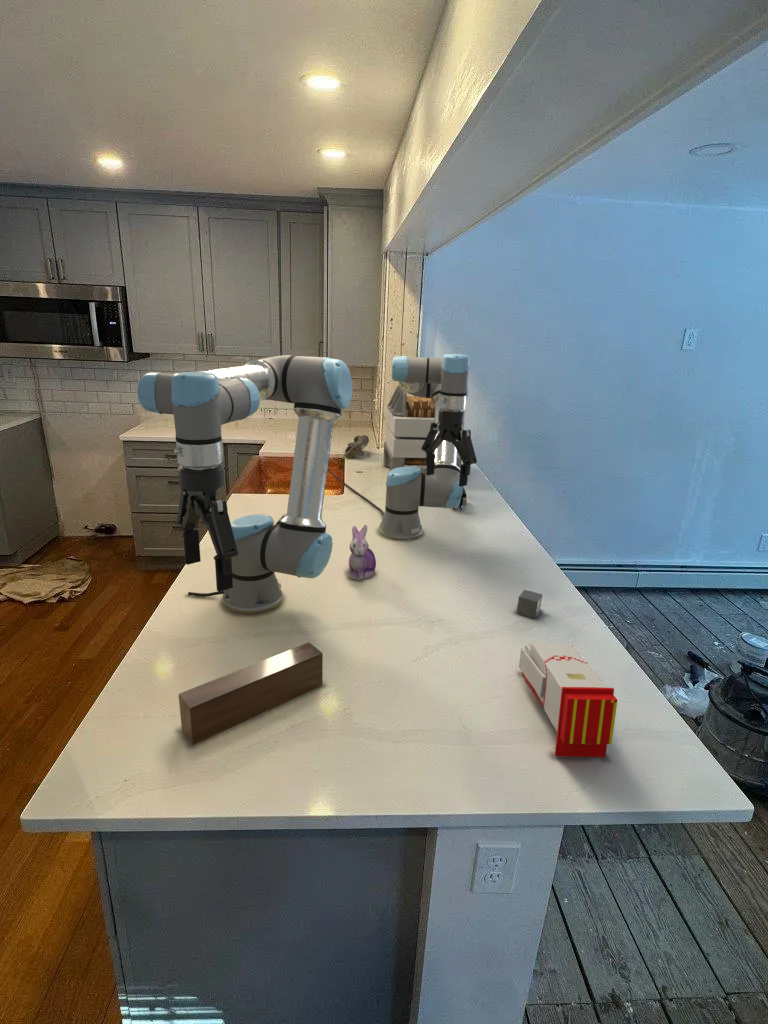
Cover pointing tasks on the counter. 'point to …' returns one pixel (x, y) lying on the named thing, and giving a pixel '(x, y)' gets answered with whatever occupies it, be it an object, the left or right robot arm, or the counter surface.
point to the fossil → (356, 446)
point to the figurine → (361, 555)
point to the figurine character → (462, 500)
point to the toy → (570, 698)
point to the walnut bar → (249, 692)
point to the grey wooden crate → (408, 430)
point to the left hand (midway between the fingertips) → (208, 575)
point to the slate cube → (529, 603)
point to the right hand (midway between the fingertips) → (446, 480)
